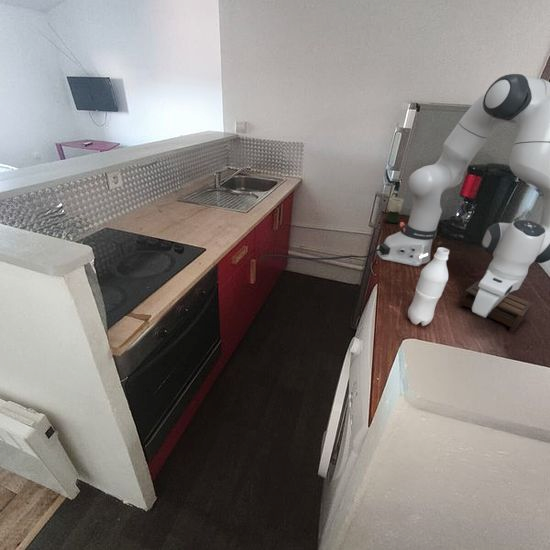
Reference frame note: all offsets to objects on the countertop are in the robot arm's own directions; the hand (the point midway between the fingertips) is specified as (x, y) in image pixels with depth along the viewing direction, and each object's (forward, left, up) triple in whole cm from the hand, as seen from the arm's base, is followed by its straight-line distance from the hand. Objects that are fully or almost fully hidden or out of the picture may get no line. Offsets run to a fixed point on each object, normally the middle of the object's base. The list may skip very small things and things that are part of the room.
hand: (484, 314), depth 91 cm
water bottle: (-20, -4, -3) cm, 20 cm away
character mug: (-18, +83, -3) cm, 85 cm away
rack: (+5, +6, -3) cm, 8 cm away
